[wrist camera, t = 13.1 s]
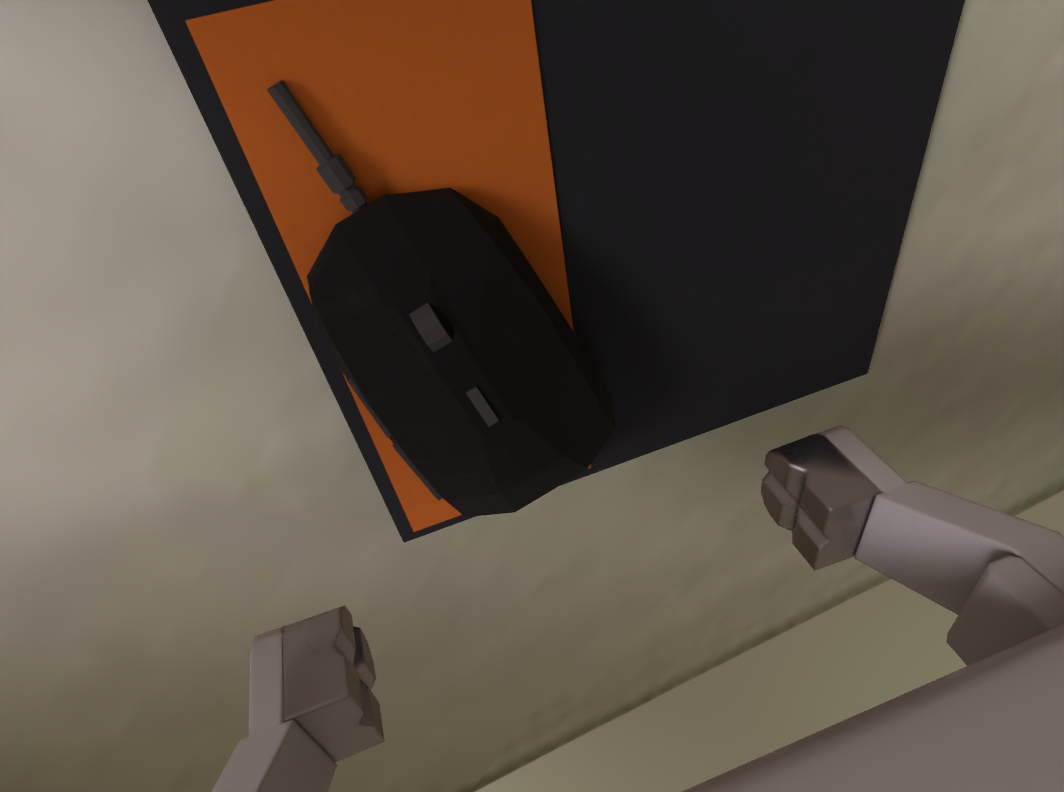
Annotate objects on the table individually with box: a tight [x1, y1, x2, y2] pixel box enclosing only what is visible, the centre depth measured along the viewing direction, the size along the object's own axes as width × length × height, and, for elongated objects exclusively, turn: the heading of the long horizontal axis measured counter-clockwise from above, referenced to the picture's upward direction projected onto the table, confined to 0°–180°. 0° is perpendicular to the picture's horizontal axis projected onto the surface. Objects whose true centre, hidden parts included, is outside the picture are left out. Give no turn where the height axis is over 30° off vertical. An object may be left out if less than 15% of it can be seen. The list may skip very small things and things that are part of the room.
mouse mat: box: [148, 0, 965, 542], centre depth 18 cm, size 22×20×1 cm
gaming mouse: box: [267, 80, 616, 517], centre depth 17 cm, size 6×15×4 cm, turn 25°
